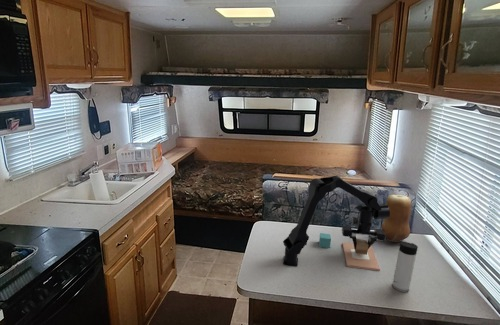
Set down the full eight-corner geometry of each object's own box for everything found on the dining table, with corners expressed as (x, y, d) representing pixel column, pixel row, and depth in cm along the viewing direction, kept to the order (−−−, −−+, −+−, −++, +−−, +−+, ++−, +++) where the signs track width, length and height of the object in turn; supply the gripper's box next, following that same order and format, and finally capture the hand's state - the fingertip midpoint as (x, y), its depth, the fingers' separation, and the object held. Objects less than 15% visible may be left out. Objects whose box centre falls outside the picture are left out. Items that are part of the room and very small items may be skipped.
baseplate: (379, 270, 139) (380, 268, 139) (346, 266, 141) (347, 264, 141) (371, 247, 158) (371, 245, 158) (342, 243, 160) (342, 241, 160)
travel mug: (391, 289, 127) (399, 245, 122) (392, 280, 133) (400, 237, 128) (408, 294, 125) (418, 249, 119) (409, 285, 130) (418, 242, 125)
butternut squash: (388, 231, 175) (395, 189, 168) (412, 242, 165) (421, 197, 158) (374, 238, 167) (381, 194, 160) (398, 250, 157) (407, 203, 150)
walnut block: (366, 254, 146) (368, 245, 145) (355, 253, 147) (357, 243, 146) (364, 249, 151) (366, 239, 150) (354, 247, 152) (355, 238, 150)
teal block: (329, 248, 156) (330, 239, 155) (319, 246, 157) (320, 237, 156) (329, 243, 161) (330, 234, 160) (319, 241, 162) (320, 233, 160)
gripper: (382, 213, 151) (377, 243, 155) (342, 209, 154) (338, 238, 158) (388, 224, 140) (383, 255, 144) (345, 219, 143) (340, 250, 147)
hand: (360, 249), depth 149 cm, fingers closed on walnut block, 5 cm apart
